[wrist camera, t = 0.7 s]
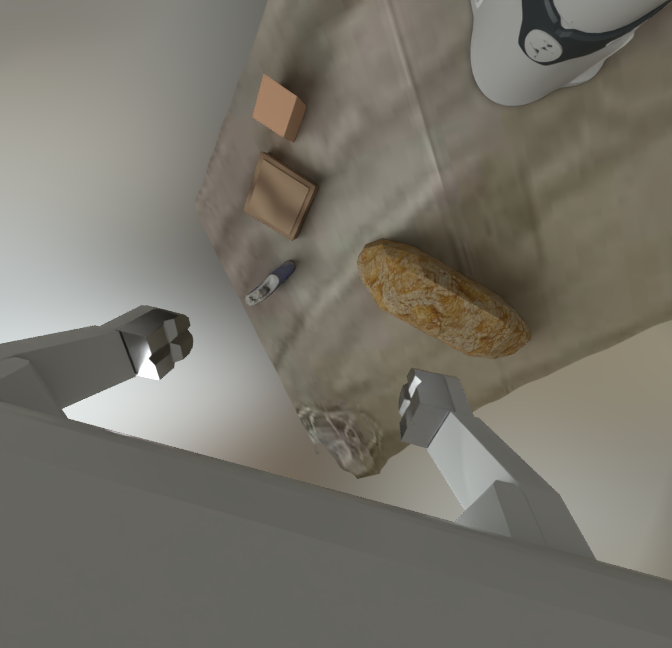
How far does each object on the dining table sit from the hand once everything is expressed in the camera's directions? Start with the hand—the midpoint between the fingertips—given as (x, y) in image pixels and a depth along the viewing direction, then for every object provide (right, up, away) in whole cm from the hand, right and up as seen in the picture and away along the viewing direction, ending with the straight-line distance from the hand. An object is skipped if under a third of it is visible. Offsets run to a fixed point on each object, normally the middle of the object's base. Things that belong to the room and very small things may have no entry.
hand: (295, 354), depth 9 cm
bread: (+22, +7, +40) cm, 46 cm away
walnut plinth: (-8, +24, +35) cm, 43 cm away
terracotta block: (-6, +34, +29) cm, 45 cm away
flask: (-11, +11, +43) cm, 46 cm away
